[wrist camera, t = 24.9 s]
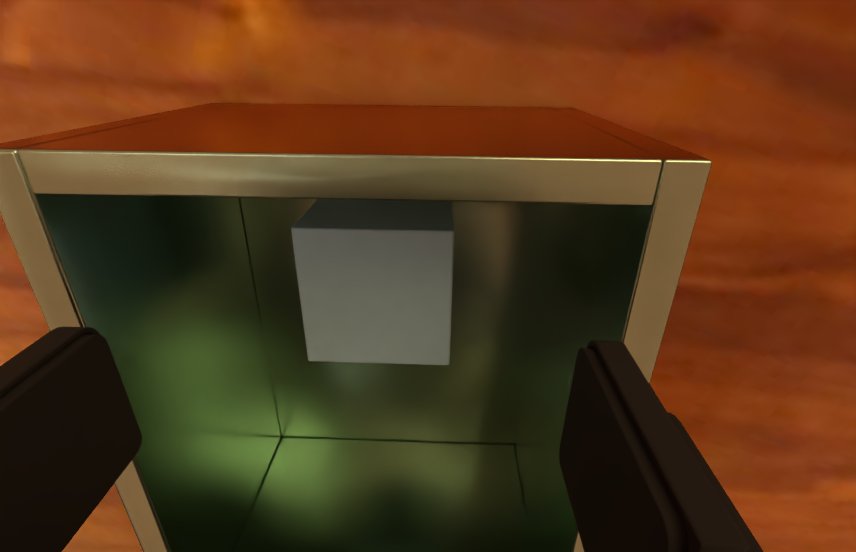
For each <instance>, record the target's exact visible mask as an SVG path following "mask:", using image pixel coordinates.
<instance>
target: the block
mask: <svg viewBox="0 0 856 552" xmlns="http://www.w3.org/2000/svg"><path fill="white" fill-rule="evenodd" d="M291 233H292V241H293V249H294V256H295V264H296V272H297V279H298V287H299V294H300V302H301V310H302V317H303V325H304V333H305V340H306V348H307V356H308V360H309V361H318V362H352V363H387V364H421V365H449V363H450V336H451V309H452V283H453V256H454V217H453V202H440V201H387V200H334V199H317V200H316V201H315V203H314V204H313V205H312V206H311V207H310V208H309V209H308V210H307V211H306V212H305V214H304V215H303V216H302V217H301V218H300V219H299V220H298V221H297V222H296V223H295V225H294V226H293V227H292V228H291Z"/></svg>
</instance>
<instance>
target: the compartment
mask: <svg viewBox="0 0 856 552" xmlns="http://www.w3.org/2000/svg"><path fill="white" fill-rule="evenodd" d="M711 164H712V161H711V160H709V159H706V158H704V157H701V156H698V155H696V154H693V153H691V152H688V151H685V150H683V149H680V148H678V147H675V146H672V145H670V144H667V143H665V142H662V141H659V140H657V139H654V138H652V137H649V136H646V135H644V134H641V133H638V132H636V131H633V130H631V129H628V128H625V127H623V126H620V125H618V124H615V123H612V122H610V121H607V120H605V119H602V118H599V117H597V116H594V115H592V114H589V113H586V112H584V111H581V110H577V109H575V108H553V107H478V106H402V105H326V104H251V103H209V104H204V105H199V106H193V107H188V108H183V109H178V110H172V111H167V112H162V113H157V114H152V115H146V116H141V117H136V118H131V119H125V120H120V121H115V122H110V123H105V124H99V125H94V126H89V127H84V128H78V129H73V130H68V131H63V132H58V133H52V134H47V135H42V136H37V137H31V138H26V139H21V140H16V141H11V142H5V143H0V214H1V217H2V219H3V221H4V224H5V226H6V228H7V231H8V233H9V235H10V238H11V240H12V243H13V245H14V247H15V250H16V252H17V254H18V257H19V259H20V261H21V264H22V266H23V269H24V271H25V273H26V276H27V278H28V280H29V283H30V285H31V287H32V290H33V292H34V294H35V297H36V299H37V302H38V304H39V306H40V309H41V311H42V313H43V316H44V318H45V320H46V323H47V325H48V328H49V330H50V331H51V330H53V329H55V328H57V327H63V326H64V327H91V328H94V329H96V330H97V331H98V332H99V334H100V335H102V336H103V337H105V338H106V340H107V342H108V345H109V347H110V350H111V353H112V355H113V358H114V361H115V364H116V366H117V369H118V372H119V374H120V377H121V380H122V383H123V385H124V388H125V391H126V393H127V396H128V399H129V401H130V404H131V407H132V410H133V412H134V415H135V418H136V420H137V423H138V426H139V428H140V431H141V435H142V443H141V447H140V449H139V451H138V453H137V454H136V456H135V457H134V458H133V460H132V461H131V462H130V463H129V465H128V466H127V467H126V469H125V470H124V471H123V473H122V474H121V475H120V476H119V478H118V479H117V480H116V482H115V486H116V488H117V490H118V493H119V495H120V497H121V500H122V502H123V504H124V507H125V509H126V512H127V514H128V516H129V519H130V521H131V523H132V526H133V528H134V530H135V533H136V535H137V537H138V540H139V542H140V545H141V547H142V549H143V552H584V549H583V546H582V542H581V539H580V535H579V532H578V528H577V524H576V521H575V517H574V514H573V510H572V507H571V503H570V499H569V496H568V492H567V489H566V485H565V482H564V478H563V474H562V471H561V467H560V461H559V447H560V442H561V437H562V431H563V426H564V421H565V416H566V410H567V405H568V400H569V395H570V390H571V384H572V379H573V374H574V369H575V363H576V358H577V353H578V350H579V349H580V348H587V346H588V344H589V342H590V341H592V340H593V341H621V342H623V343H624V344H625V346H626V347H627V349H628V350H629V352H630V354H631V355H632V357H633V358H634V360H635V362H636V363H637V365H638V367H639V368H640V370H641V371H642V373H643V375H644V376H645V378H646V379H647V381H648V383H649V384H650V380H651V376H652V373H653V369H654V366H655V362H656V359H657V355H658V352H659V348H660V345H661V341H662V338H663V334H664V331H665V327H666V323H667V320H668V316H669V313H670V309H671V306H672V302H673V299H674V295H675V292H676V288H677V285H678V281H679V277H680V274H681V270H682V267H683V263H684V260H685V256H686V253H687V249H688V246H689V242H690V239H691V235H692V232H693V228H694V224H695V221H696V217H697V214H698V210H699V207H700V203H701V200H702V196H703V193H704V189H705V186H706V182H707V179H708V175H709V171H710V168H711ZM317 199H334V200H387V201H440V202H453V217H454V256H453V283H452V309H451V336H450V363H449V365H421V364H387V363H352V362H318V361H309V360H308V356H307V348H306V340H305V333H304V325H303V317H302V310H301V302H300V294H299V287H298V279H297V272H296V264H295V256H294V249H293V241H292V233H291V228H292V227H293V226H294V225H295V223H296V222H297V221H298V220H299V219H300V218H301V217H302V216H303V215H304V214H305V212H306V211H307V210H308V209H309V208H310V207H311V206H312V205H313V204H314V203H315V201H316V200H317Z"/></svg>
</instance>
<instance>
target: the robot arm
mask: <svg viewBox="0 0 856 552" xmlns="http://www.w3.org/2000/svg"><path fill="white" fill-rule="evenodd" d="M141 443H142V435H141V431H140V428H139V426H138V423H137V420H136V418H135V415H134V412H133V410H132V407H131V404H130V401H129V399H128V396H127V393H126V391H125V388H124V385H123V383H122V380H121V377H120V374H119V372H118V369H117V366H116V364H115V361H114V358H113V355H112V353H111V350H110V347H109V345H108V342H107V340H106V338H105V337H103V336H102V335H100V334H99V332H98V331H97V330H96V329H94V328H91V327H64V326H63V327H57V328H55V329H53V330H51V331H50V332H49V333H47V334H46V335H44V336H43V337H41V338H40V339H39V340H37V341H36V342H34V343H33V344H31V345H30V346H29V347H27V348H26V349H24V350H23V351H22V352H20V353H19V354H17V355H16V356H14V357H13V358H12V359H10V360H9V361H7V362H6V363H4V364H3V365H2V366H0V552H62V550H63V549H64V548H65V547H66V545H67V544H68V543H69V541H70V540H71V539H72V537H73V536H74V535H75V534H76V532H77V531H78V530H79V528H80V527H81V526H82V524H83V523H84V522H85V521H86V519H87V518H88V517H89V515H90V514H91V513H92V511H93V510H94V509H95V508H96V506H97V505H98V504H99V502H100V501H101V500H102V499H103V497H104V496H105V495H106V493H107V492H108V491H109V489H110V488H111V487H112V486H113V484H114V483H115V482H116V480H117V479H118V478H119V476H120V475H121V474H122V473H123V471H124V470H125V469H126V467H127V466H128V465H129V463H130V462H131V461H132V460H133V458H134V457H135V456H136V454H137V453H138V451H139V449H140V447H141ZM559 461H560V467H561V471H562V474H563V478H564V482H565V485H566V489H567V492H568V496H569V499H570V503H571V507H572V510H573V514H574V517H575V521H576V524H577V528H578V532H579V535H580V539H581V542H582V546H583V549H584V552H763V550H762V549H761V547H760V545H759V544H758V542H757V541H756V539H755V538H754V536H753V535H752V533H751V531H750V530H749V528H748V527H747V525H746V524H745V522H744V521H743V519H742V517H741V516H740V514H739V513H738V511H737V510H736V508H735V506H734V505H733V503H732V502H731V500H730V499H729V497H728V496H727V494H726V492H725V491H724V489H723V488H722V486H721V485H720V483H719V481H718V480H717V478H716V477H715V475H714V474H713V472H712V471H711V469H710V467H709V466H708V464H707V463H706V461H705V460H704V458H703V457H702V455H701V453H700V452H699V450H698V449H697V447H696V446H695V444H694V442H693V441H692V439H691V438H690V436H689V435H688V433H687V432H686V430H685V428H684V427H683V425H682V424H681V422H680V421H679V420H678V419H677V417H676V416H675V415H673V414H671V413H668V412H666V410H665V408H664V407H663V405H662V404H661V402H660V400H659V399H658V397H657V396H656V394H655V392H654V391H653V389H652V387H651V386H650V384H649V383H648V381H647V379H646V378H645V376H644V375H643V373H642V371H641V370H640V368H639V367H638V365H637V363H636V362H635V360H634V358H633V357H632V355H631V354H630V352H629V350H628V349H627V347H626V346H625V344H624V343H623V342H621V341H593V340H592V341H590V342H589V344H588V346H587V348H580V349H579V350H578V353H577V358H576V363H575V369H574V374H573V379H572V384H571V390H570V395H569V400H568V405H567V410H566V416H565V421H564V426H563V431H562V437H561V442H560V447H559Z"/></svg>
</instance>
